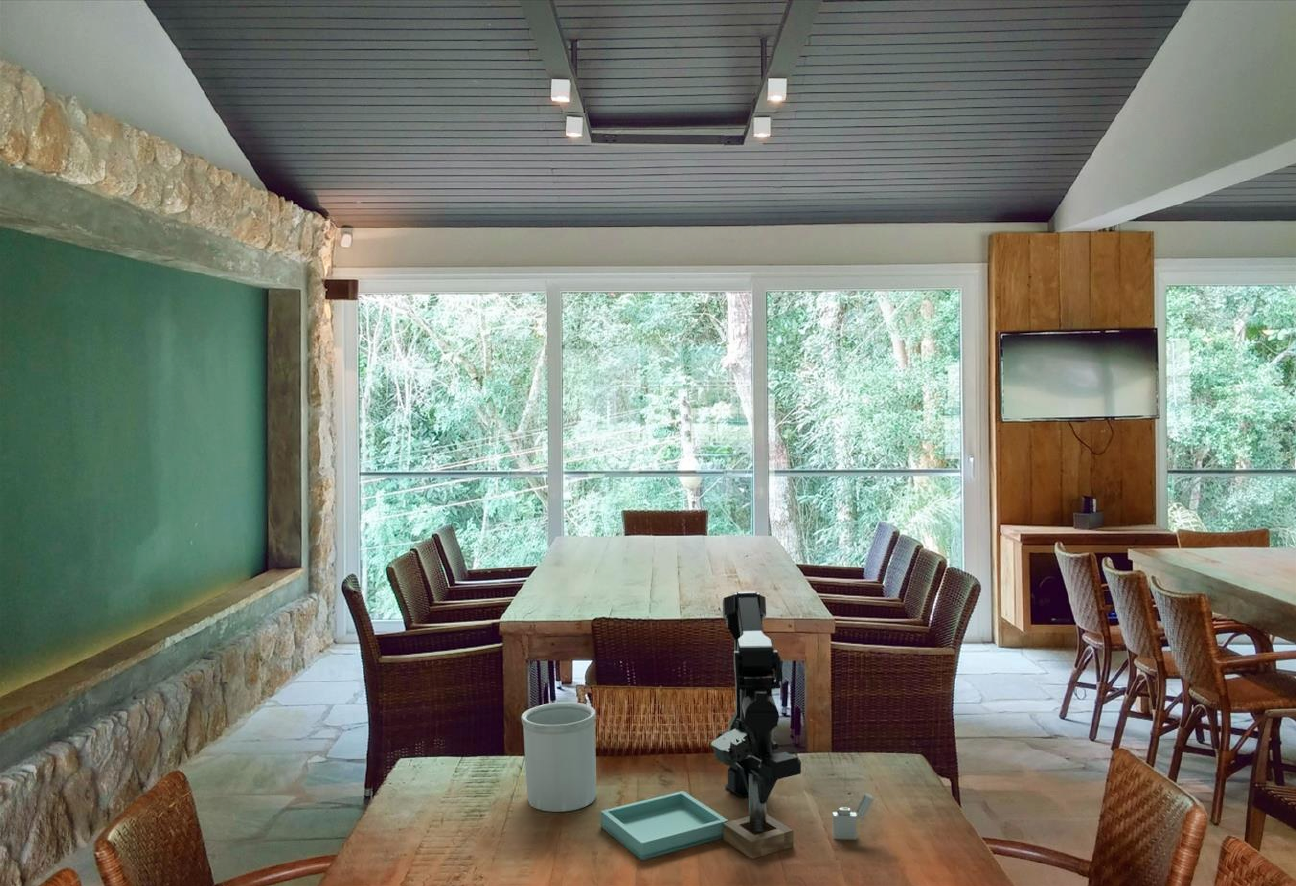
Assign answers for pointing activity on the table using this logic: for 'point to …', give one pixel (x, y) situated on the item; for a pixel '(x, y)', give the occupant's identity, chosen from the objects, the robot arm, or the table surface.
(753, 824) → the pin
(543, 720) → the utensil holder
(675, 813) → the tray
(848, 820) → the lighter
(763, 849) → the pin holder
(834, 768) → the table surface
